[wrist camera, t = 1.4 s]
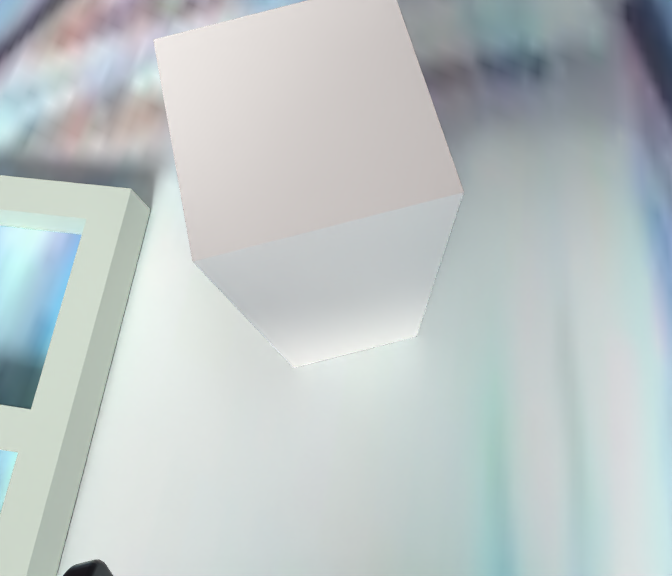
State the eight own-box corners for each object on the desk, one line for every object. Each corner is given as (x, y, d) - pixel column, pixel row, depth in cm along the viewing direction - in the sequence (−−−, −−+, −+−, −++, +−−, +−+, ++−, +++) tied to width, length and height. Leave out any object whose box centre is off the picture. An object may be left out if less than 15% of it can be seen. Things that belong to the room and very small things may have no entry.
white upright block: (416, 336, 22) (464, 192, 10) (293, 368, 22) (192, 261, 10) (383, 223, 23) (389, -21, 11) (267, 252, 23) (153, 39, 11)
